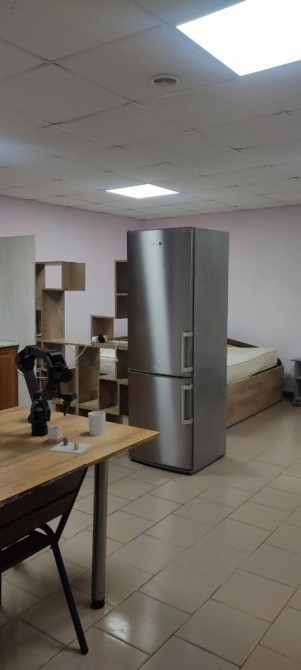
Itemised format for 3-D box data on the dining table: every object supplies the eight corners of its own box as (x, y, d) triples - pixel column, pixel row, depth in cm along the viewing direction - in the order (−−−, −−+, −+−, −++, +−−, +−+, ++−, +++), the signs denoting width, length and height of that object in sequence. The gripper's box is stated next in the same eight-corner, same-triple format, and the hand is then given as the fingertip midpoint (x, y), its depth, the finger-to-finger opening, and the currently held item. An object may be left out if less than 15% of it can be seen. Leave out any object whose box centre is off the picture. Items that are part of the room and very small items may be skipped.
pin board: (49, 452, 205) (48, 442, 205) (62, 444, 215) (61, 435, 215) (80, 455, 201) (80, 445, 200) (92, 446, 211) (91, 437, 211)
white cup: (103, 437, 223) (102, 415, 223) (86, 437, 225) (85, 415, 224) (108, 432, 231) (107, 411, 230) (91, 432, 233) (91, 410, 232)
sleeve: (48, 442, 217) (47, 428, 216) (53, 439, 221) (53, 425, 220) (57, 442, 215) (57, 429, 215) (62, 439, 219) (62, 426, 219)
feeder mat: (42, 443, 216) (42, 442, 216) (51, 438, 224) (51, 437, 224) (58, 445, 214) (58, 444, 214) (67, 439, 221) (67, 438, 221)
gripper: (24, 382, 210) (26, 418, 212) (65, 384, 205) (66, 421, 207) (38, 377, 221) (39, 412, 223) (77, 379, 216) (77, 415, 217)
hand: (55, 415), depth 217 cm, fingers open, 9 cm apart
